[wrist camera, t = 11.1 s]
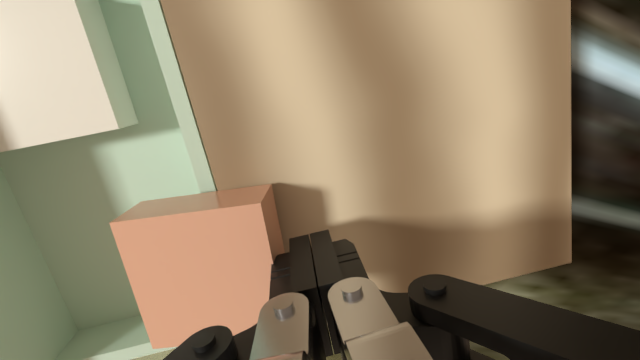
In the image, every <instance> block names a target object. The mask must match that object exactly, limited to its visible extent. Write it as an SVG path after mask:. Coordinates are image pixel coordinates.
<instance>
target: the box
mask: <svg viewBox="0 0 640 360" xmlns="http://www.w3.org/2000/svg"><path fill="white" fill-rule="evenodd" d="M98 1H99V4H100V7H101V10H102V13H103V16H104V19H105V22H106V26H107V29H108V32H109V35H110V38H111V41H112V44H113V47H114V50H115V53H116V56H117V59H118V62H119V65H120V68H121V71H122V74H123V77H124V80H125V83H126V86H127V89H128V92H129V95H130V98H131V101H132V104H133V107H134V110H135V113H136V116H137V119H138V122H139V123H138V124H134V125H131V126H127V127H124V128H120V129H116V130H111V131H106V132H101V133H95V134H90V135H85V136H80V137H75V138H70V139H65V140H60V141H55V142H50V143H45V144H40V145H35V146H30V147H25V148H20V149H15V150H10V151H5V152H0V360H130V359H134V358H138V357H142V356H146V355H150V354H154V353H158V352H162V351H166V350H170V349H174V348H177V347H169V348H159V349H153V348H152V345H151V343H150V340H149V337H148V334H147V331H146V328H145V325H144V322H143V319H142V317H141V314H140V311H139V308H138V305H137V302H136V299H135V296H134V293H133V290H132V288H131V285H130V282H129V279H128V276H127V273H126V270H125V267H124V264H123V262H122V259H121V256H120V253H119V250H118V247H117V244H116V241H115V238H114V236H113V233H112V230H111V227H110V224H109V223H110V222H111V221H113V220H114V219H116V218H117V217H119V216H120V215H122V214H123V213H125V212H126V211H128V210H129V209H131V208H132V207H133V206H135V205H136V204H138V203H139V202H141V201H147V200H155V199H162V198H169V197H177V196H184V195H192V194H199V193H207V192H214V191H218V190H217V187H216V183H215V180H214V177H213V174H212V170H211V167H210V164H209V160H208V157H207V154H206V150H205V147H204V144H203V140H202V137H201V134H200V130H199V127H198V124H197V120H196V117H195V114H194V111H193V107H192V104H191V101H190V97H189V94H188V91H187V87H186V84H185V81H184V77H183V74H182V71H181V67H180V64H179V61H178V57H177V54H176V51H175V47H174V44H173V41H172V38H171V34H170V31H169V28H168V24H167V21H166V18H165V14H164V11H163V8H162V4H161V1H160V0H98Z"/></svg>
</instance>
